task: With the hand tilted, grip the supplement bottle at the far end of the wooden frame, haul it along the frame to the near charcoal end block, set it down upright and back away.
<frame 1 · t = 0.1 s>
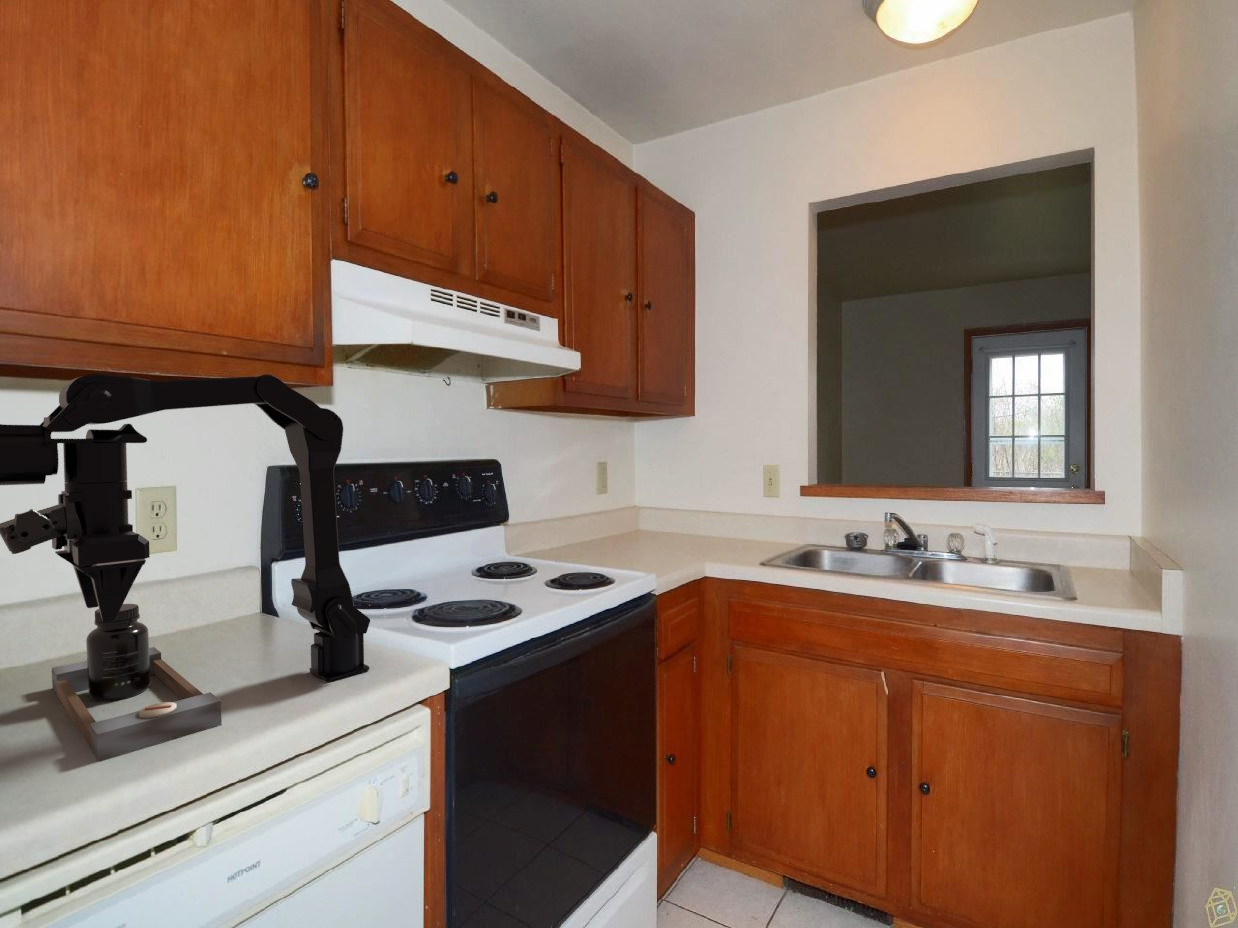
hand: (100, 613, 75), 15 cm above the worktop, tool pointing down, fingers open, 9 cm apart
wooden frame: (131, 705, 85), on the worktop
supplement bottle: (120, 694, 89), resting in wooden frame
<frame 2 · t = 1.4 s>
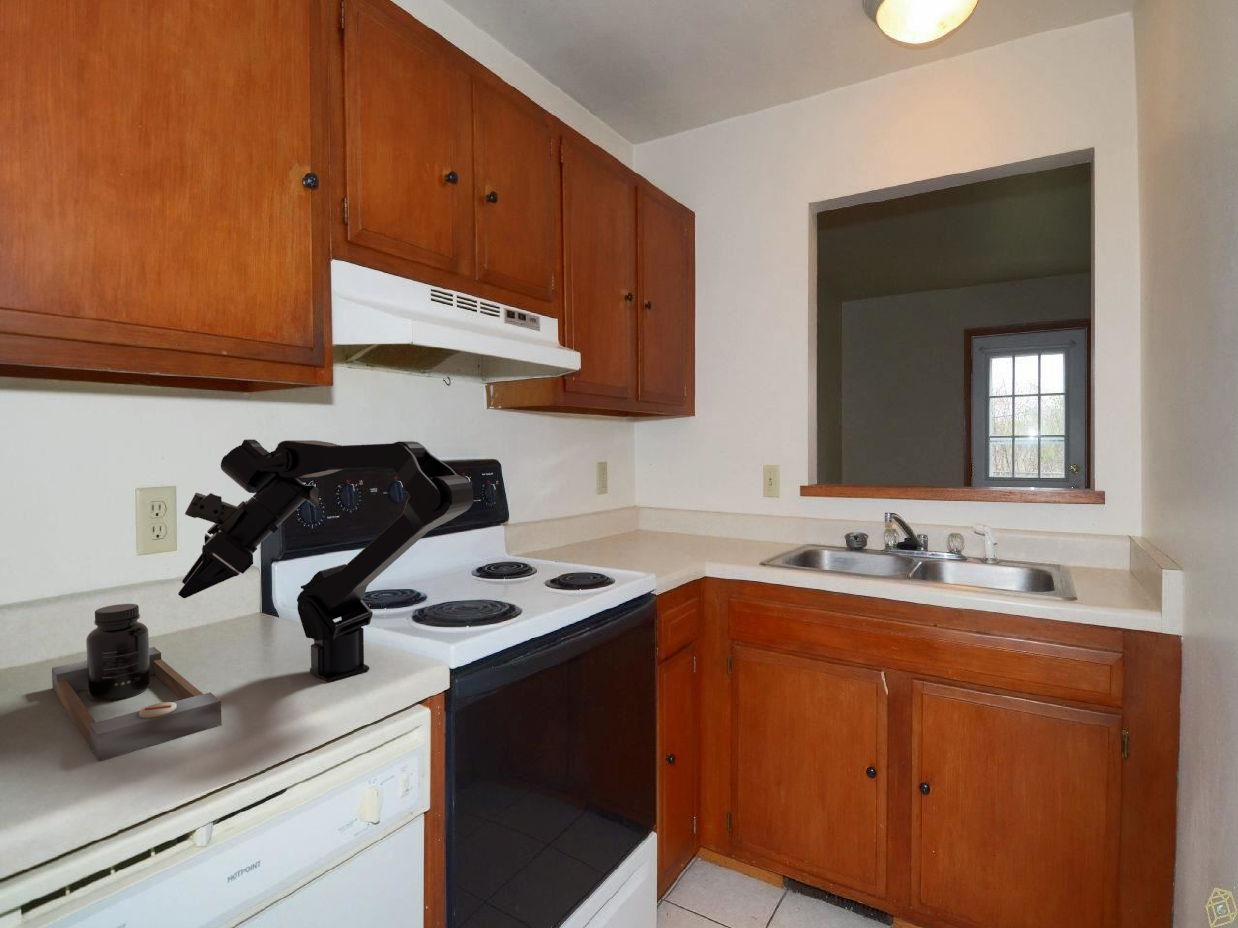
hand: (182, 589, 92), 14 cm above the worktop, tool tilted 45°, fingers open, 9 cm apart
nothing on the worktop moved.
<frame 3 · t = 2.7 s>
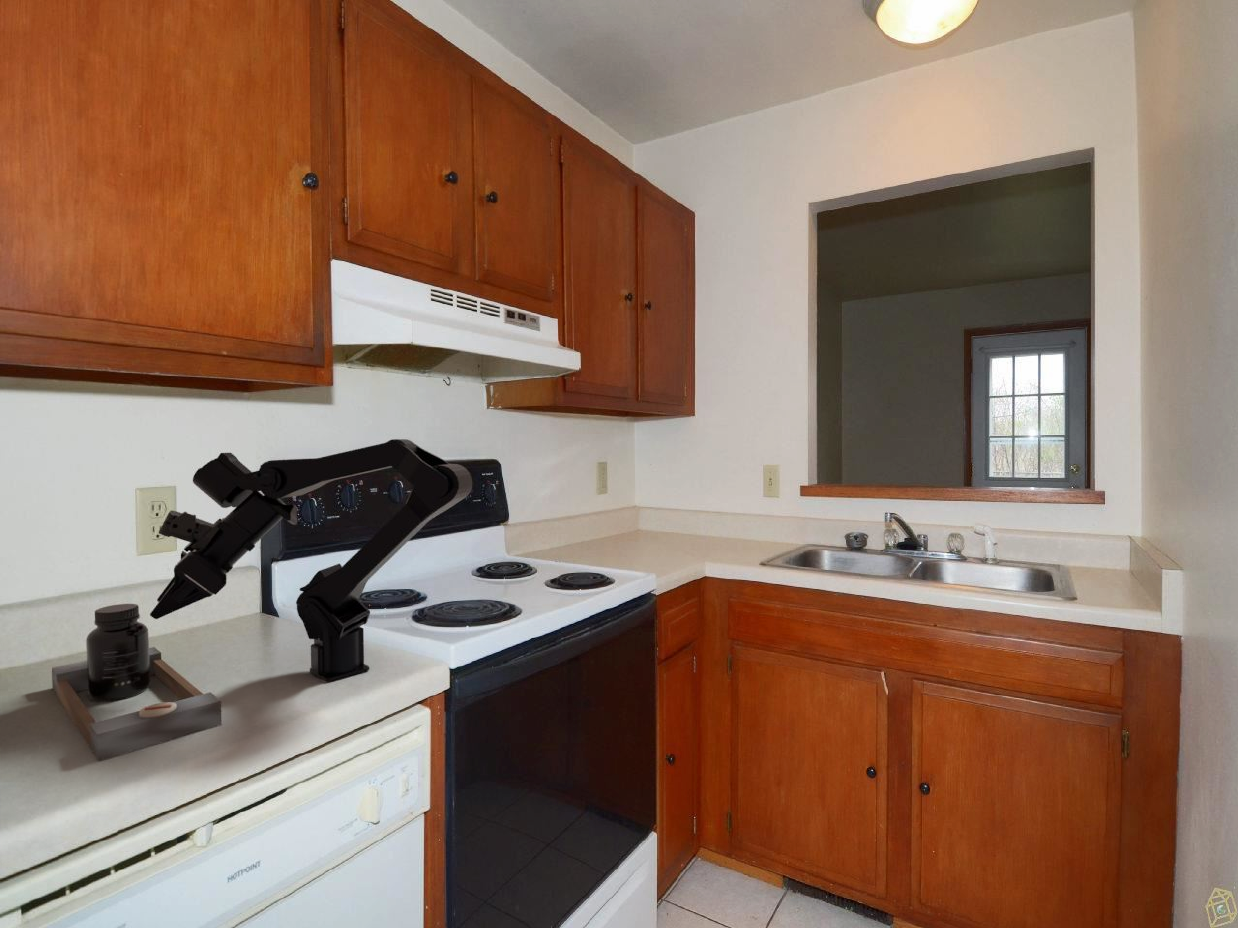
hand: (156, 609, 91), 11 cm above the worktop, tool tilted 45°, fingers open, 9 cm apart
nothing on the worktop moved.
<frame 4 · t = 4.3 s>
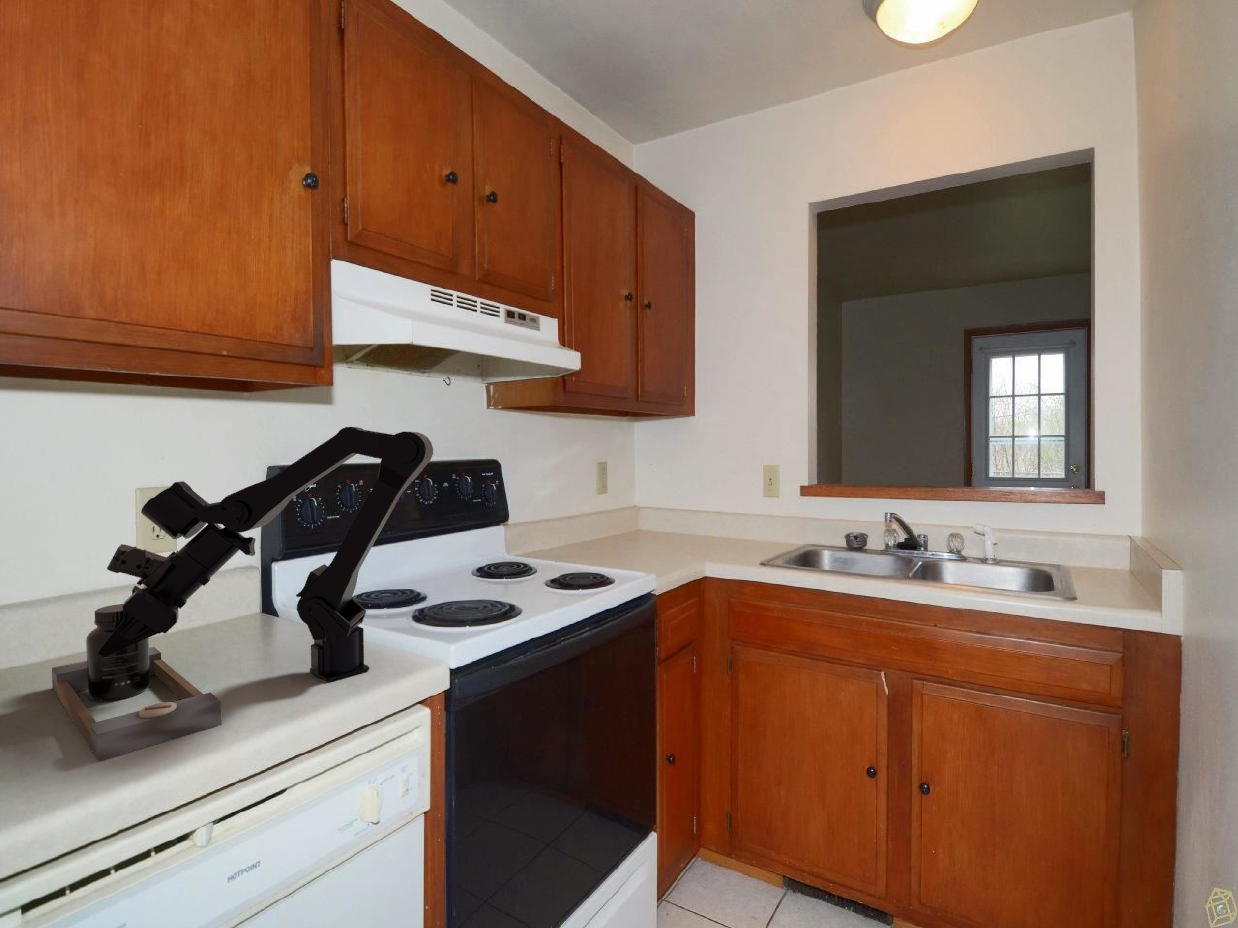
hand: (105, 647, 88), 7 cm above the worktop, tool tilted 45°, fingers closed on supplement bottle, 7 cm apart
supplement bottle: (119, 693, 89), resting in wooden frame, touching gripper
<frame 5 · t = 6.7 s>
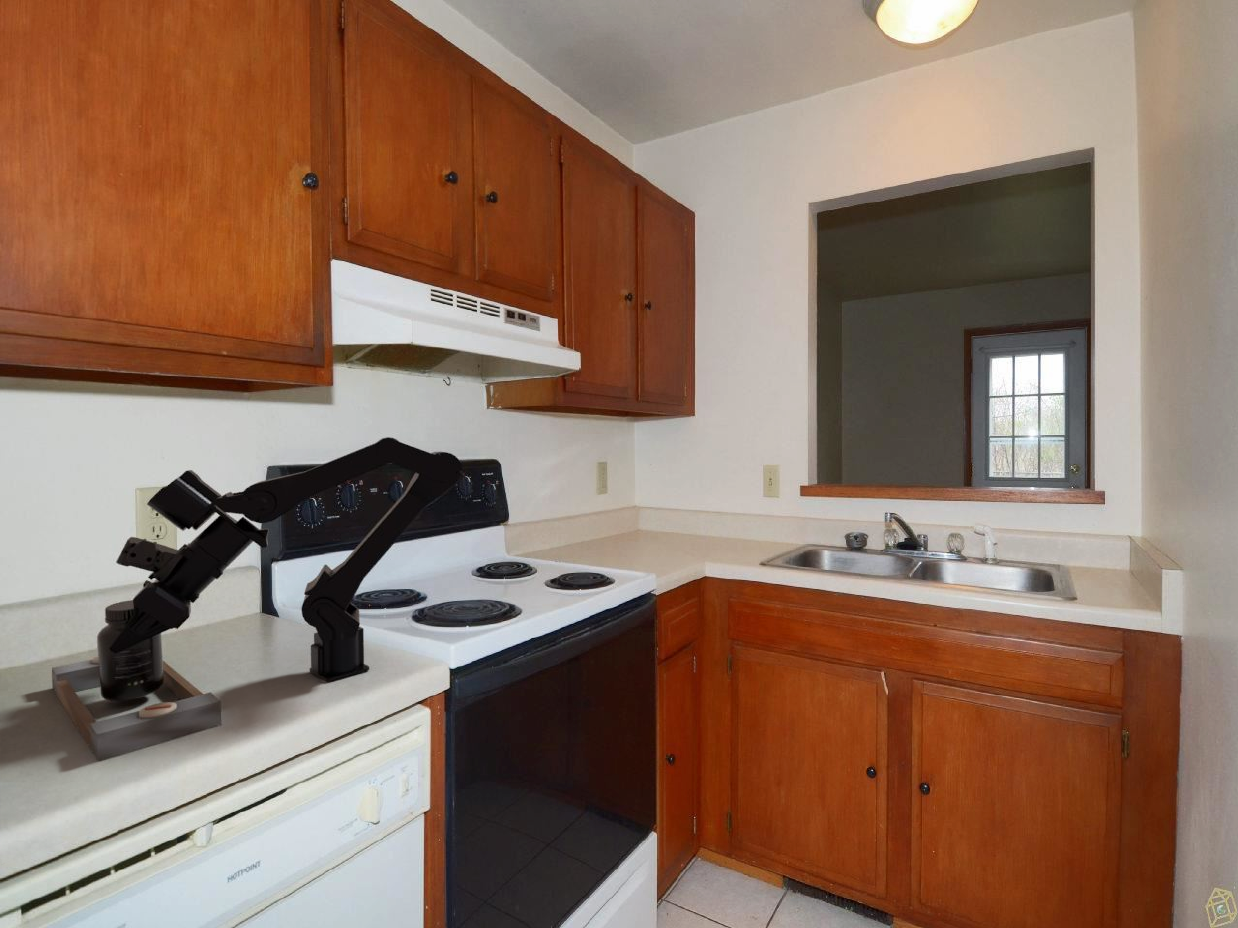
hand: (116, 644, 85), 8 cm above the worktop, tool tilted 45°, fingers closed on supplement bottle, 7 cm apart
supplement bottle: (132, 692, 86), point 1 cm above the worktop, touching gripper
when the fingers open (7 cm above the worktop, at t = 8.9 s): supplement bottle stays where it is, resting in wooden frame.
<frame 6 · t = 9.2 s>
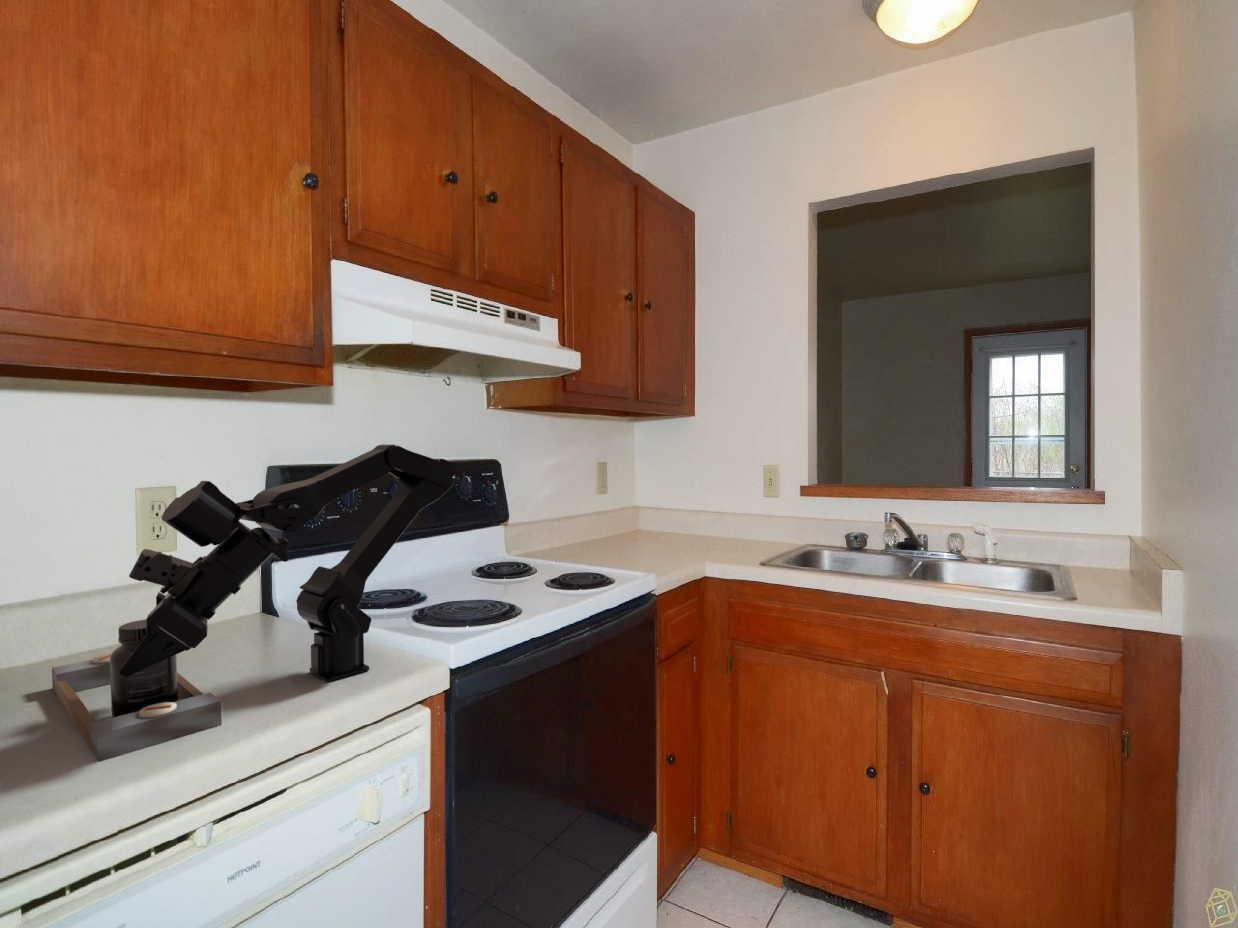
hand: (127, 662, 80), 7 cm above the worktop, tool tilted 45°, fingers open, 9 cm apart
supplement bottle: (145, 717, 81), resting in wooden frame
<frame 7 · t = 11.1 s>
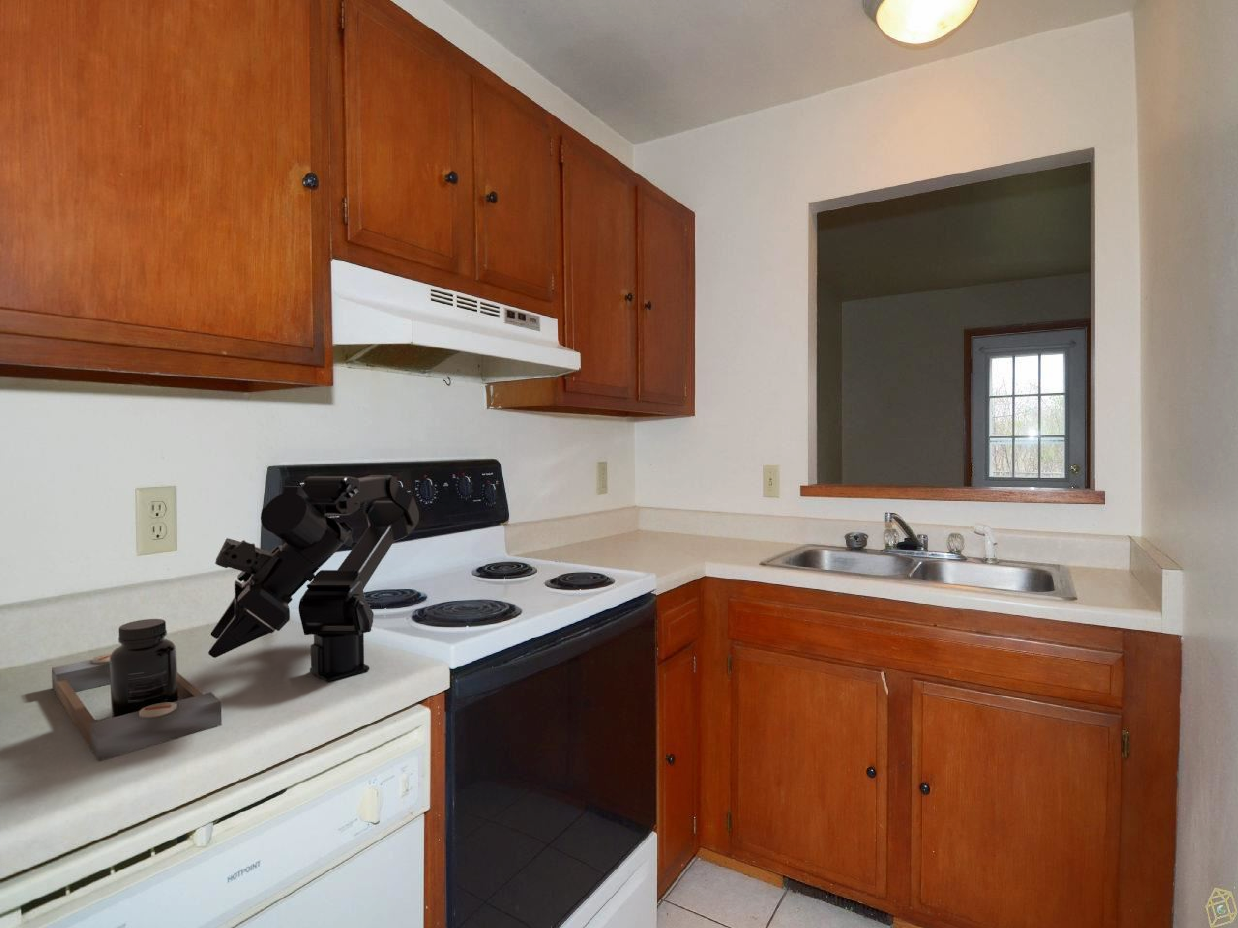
hand: (212, 645, 84), 8 cm above the worktop, tool tilted 45°, fingers open, 9 cm apart
nothing on the worktop moved.
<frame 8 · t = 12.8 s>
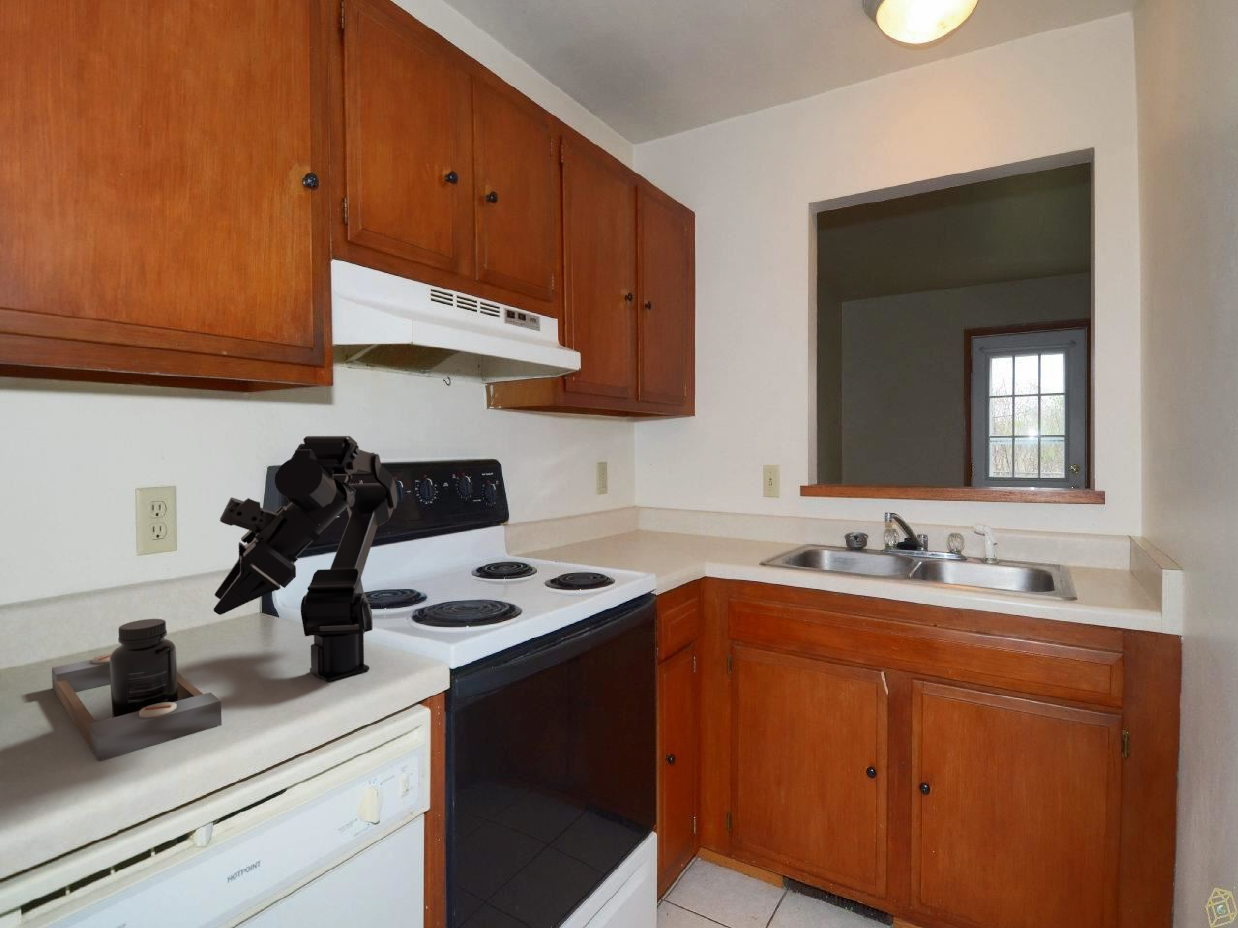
hand: (216, 604, 84), 14 cm above the worktop, tool tilted 45°, fingers open, 9 cm apart
nothing on the worktop moved.
at the end: supplement bottle 0.6 cm from the target spot, resting in wooden frame; supplement bottle tilted 0°; the gripper is holding nothing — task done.
